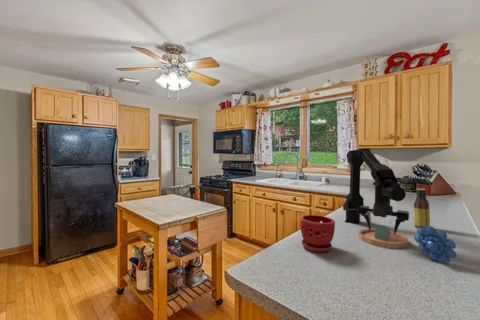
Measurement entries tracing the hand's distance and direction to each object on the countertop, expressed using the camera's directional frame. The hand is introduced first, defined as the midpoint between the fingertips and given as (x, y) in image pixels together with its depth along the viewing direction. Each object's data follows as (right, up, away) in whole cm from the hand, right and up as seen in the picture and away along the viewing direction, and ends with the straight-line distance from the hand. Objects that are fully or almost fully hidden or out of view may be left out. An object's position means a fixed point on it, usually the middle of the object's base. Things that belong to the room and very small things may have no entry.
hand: (382, 231), depth 99 cm
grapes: (+5, -4, -20) cm, 21 cm away
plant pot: (-31, -4, -8) cm, 32 cm away
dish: (0, -4, 0) cm, 4 cm away
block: (0, -3, 0) cm, 3 cm away
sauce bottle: (+30, -3, +15) cm, 34 cm away
